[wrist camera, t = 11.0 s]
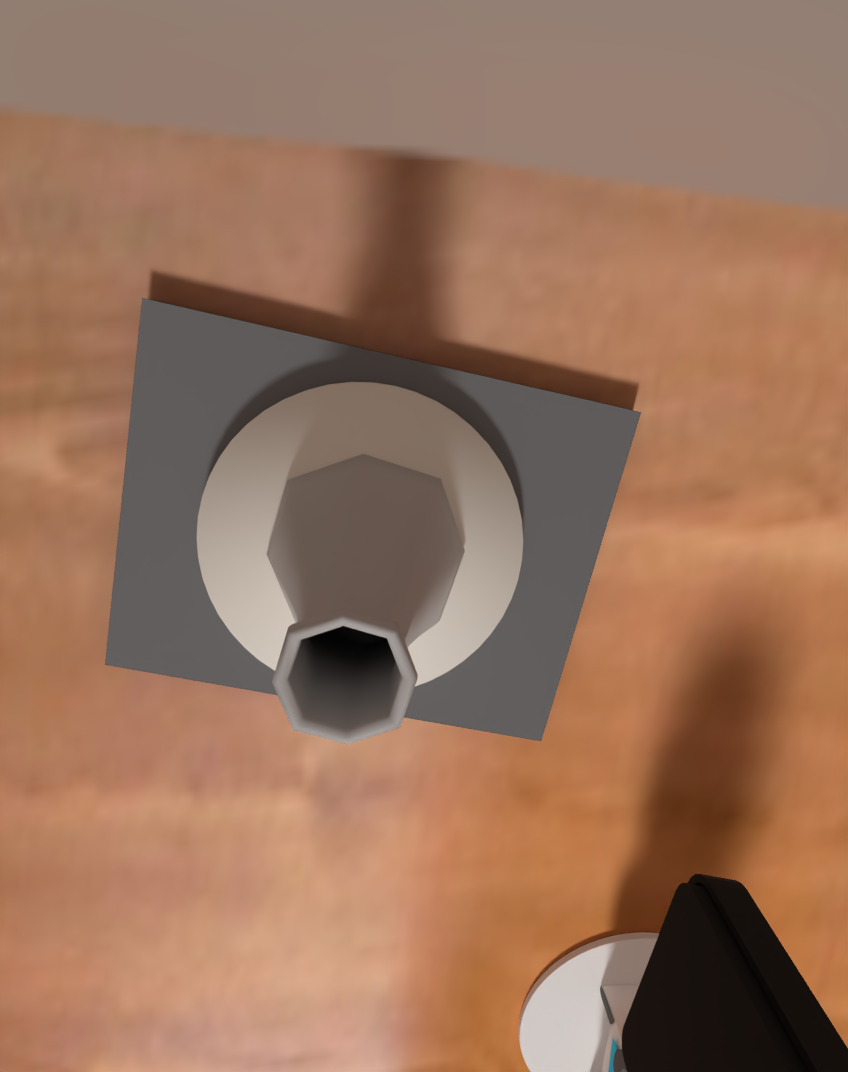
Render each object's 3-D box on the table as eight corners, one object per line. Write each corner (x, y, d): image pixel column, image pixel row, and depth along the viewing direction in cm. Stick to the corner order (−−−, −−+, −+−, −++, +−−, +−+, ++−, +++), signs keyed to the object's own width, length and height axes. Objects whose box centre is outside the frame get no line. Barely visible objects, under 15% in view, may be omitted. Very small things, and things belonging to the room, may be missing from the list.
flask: (261, 453, 23) (159, 523, 13) (465, 452, 23) (514, 520, 13) (274, 642, 25) (194, 825, 15) (462, 638, 25) (503, 816, 15)
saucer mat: (633, 410, 24) (649, 413, 23) (537, 730, 28) (544, 752, 26) (150, 300, 23) (132, 295, 21) (113, 655, 26) (96, 674, 25)
